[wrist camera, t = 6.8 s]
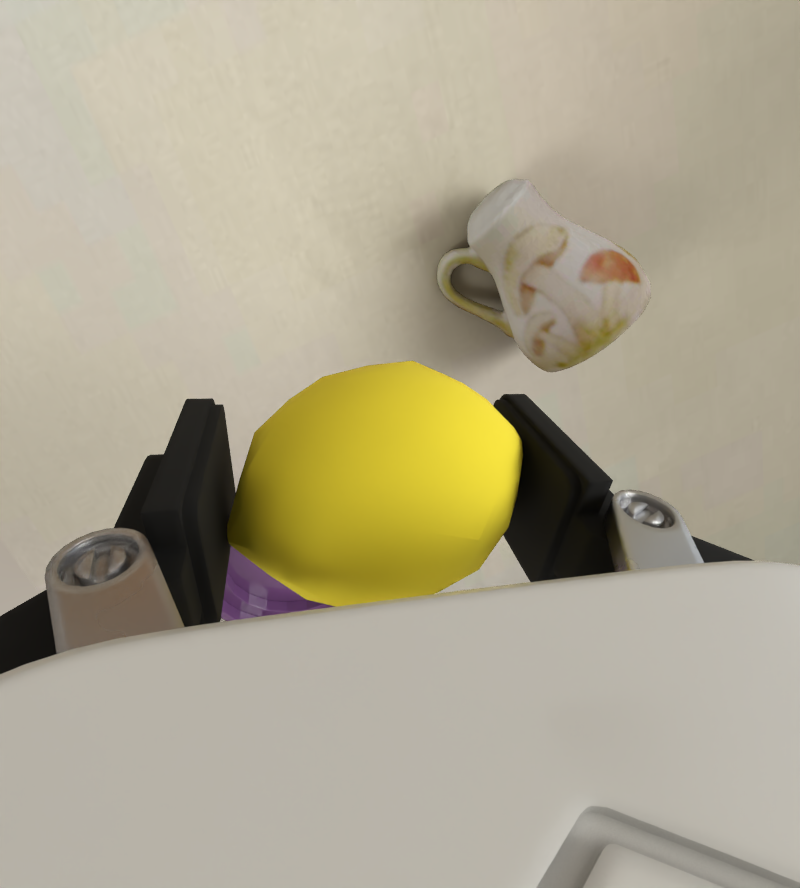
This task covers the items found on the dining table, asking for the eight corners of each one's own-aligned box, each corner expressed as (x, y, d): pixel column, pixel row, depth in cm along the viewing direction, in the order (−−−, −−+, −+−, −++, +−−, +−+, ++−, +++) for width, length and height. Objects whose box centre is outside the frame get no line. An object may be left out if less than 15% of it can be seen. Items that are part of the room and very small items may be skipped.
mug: (507, 125, 22) (704, 178, 17) (532, 260, 30) (668, 323, 25) (408, 236, 22) (574, 322, 17) (459, 340, 31) (581, 419, 25)
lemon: (466, 295, 11) (590, 390, 6) (488, 463, 14) (583, 604, 10) (189, 378, 10) (118, 538, 6) (275, 531, 14) (270, 711, 9)
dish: (214, 615, 36) (210, 644, 34) (192, 488, 29) (185, 514, 27) (372, 599, 39) (377, 624, 37) (386, 480, 32) (393, 503, 30)
